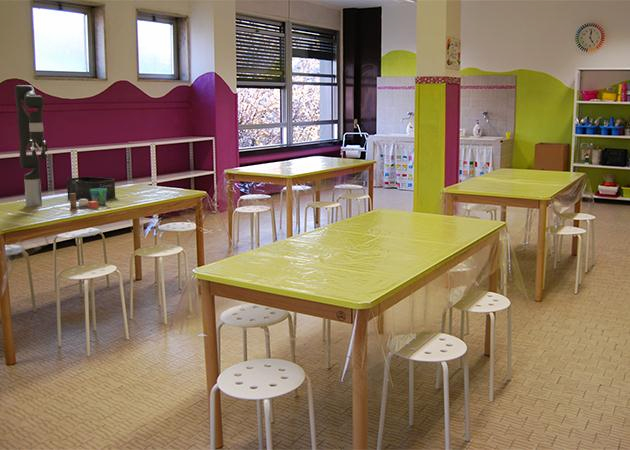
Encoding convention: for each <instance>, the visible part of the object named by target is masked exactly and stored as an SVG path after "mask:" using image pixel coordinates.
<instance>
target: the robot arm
mask: <svg viewBox="0 0 630 450" xmlns="http://www.w3.org/2000/svg"><path fill="white" fill-rule="evenodd" d="M14 97H15V105H16V112H17V113H16V115H17V130H18V132H17V133H18V141H19V164H20V167H21V169H26V170H27V169H31V171H29V172H27V173H25V174H24V175H23V179H24V182H23V183H24V190H25V191H24V199H25V206H26V207H27V208H29V207H31V208H33V207H35V208H36V207H41V206H43V200H42V199H43V198H42V186H41V176H40V175H41V170H40V168H41V167H40V159H41V160H45V159H46V152H48V142H47V140H43V139H44V138H45V132H44V124H43V116H42V115H43V110H44V109H43V108H44V103H45V98H43V96H42V95H37V94H36V91H35V88H34V87H33V86H32V85H28V84H25V85H24V84H22V85H21V84H18V85H15V86H14ZM22 101H23V102H24V105H23V103H22ZM25 107H26V108H28V109H37V110H36V111H31V112H29V113H28V112H27V110H26V108H25ZM27 148H28V149H27ZM37 149H38V150H39V151H40V157H39V155H38V154H37ZM27 150H29V151H30V152H31V153H27Z"/></svg>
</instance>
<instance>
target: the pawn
mask: <svg viewBox="0 0 630 450" xmlns="http://www.w3.org/2000/svg"><path fill="white" fill-rule="evenodd" d="M69 203H70V205H69V206H70V207H69V208H70V210H69V211H73V212H74V210H75V211H76V210H79V208H77V206H78V205H77V199H76V193H70V198H69Z"/></svg>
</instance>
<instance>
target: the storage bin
mask: <svg viewBox="0 0 630 450" xmlns="http://www.w3.org/2000/svg"><path fill="white" fill-rule="evenodd" d="M66 188H67V189H66V191H67V199H70V193H76V201H77V200H80V199H87V200H88V202H91V201H92V197H91V193H90V189H94V188H106V189H107V192H106V201H107V200H111V198H112V199H115V198H116V184H115V178H109V177H98V176H88V175H87V176H79V177H78V176H77V177H73V178H66Z"/></svg>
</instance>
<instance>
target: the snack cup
mask: <svg viewBox="0 0 630 450" xmlns="http://www.w3.org/2000/svg"><path fill="white" fill-rule="evenodd" d="M106 192H107V189H106V188H101V187H100V188H94V189H90V193H91V197H92V201H97V202H98V206H105V205H106V202H107V200H106Z"/></svg>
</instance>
